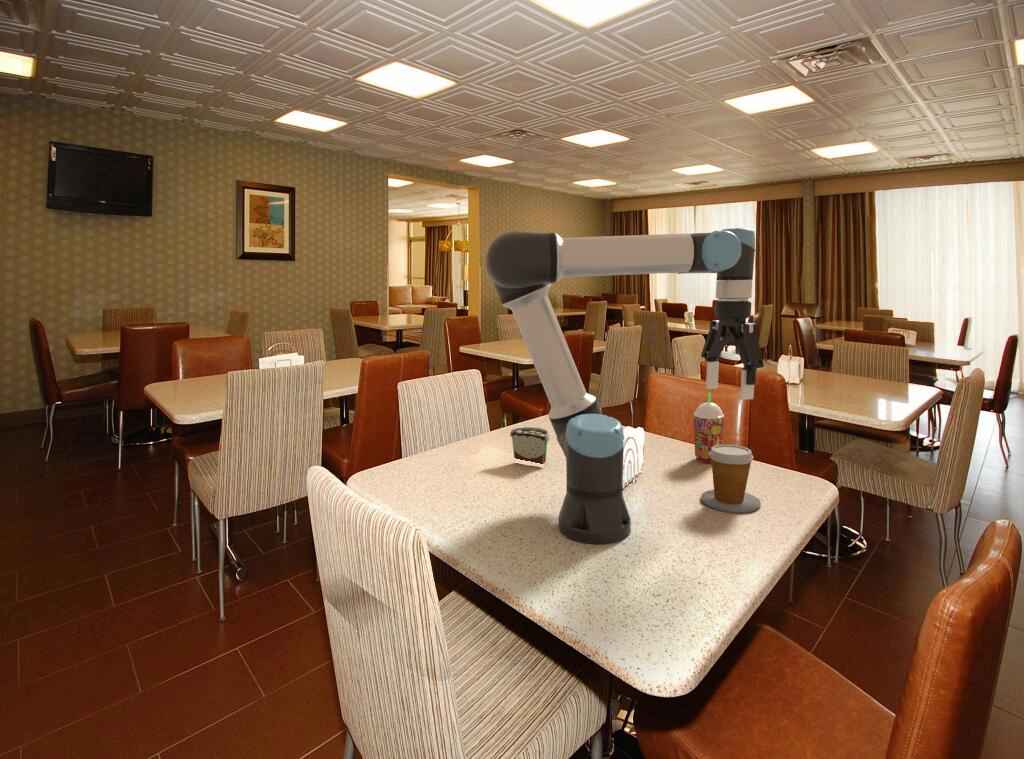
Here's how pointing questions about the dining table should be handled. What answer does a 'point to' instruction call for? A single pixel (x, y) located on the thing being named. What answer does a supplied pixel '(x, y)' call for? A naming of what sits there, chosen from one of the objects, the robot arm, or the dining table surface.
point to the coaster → (746, 506)
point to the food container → (530, 444)
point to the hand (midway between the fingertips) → (728, 393)
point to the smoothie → (707, 429)
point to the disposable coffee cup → (730, 472)
